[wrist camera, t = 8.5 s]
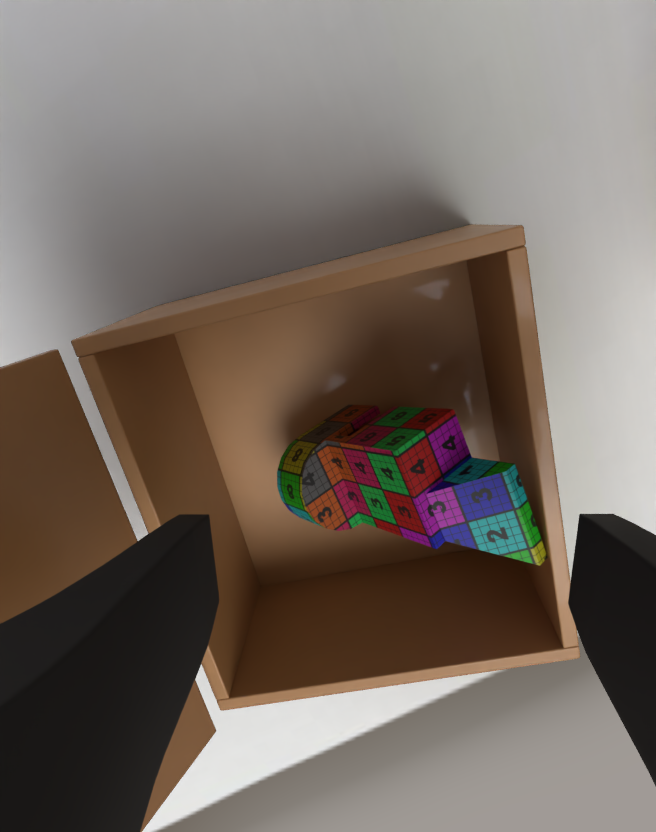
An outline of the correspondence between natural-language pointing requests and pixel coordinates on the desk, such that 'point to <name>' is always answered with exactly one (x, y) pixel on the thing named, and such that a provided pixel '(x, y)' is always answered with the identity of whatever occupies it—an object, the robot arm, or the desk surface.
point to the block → (408, 482)
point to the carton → (359, 385)
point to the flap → (67, 520)
